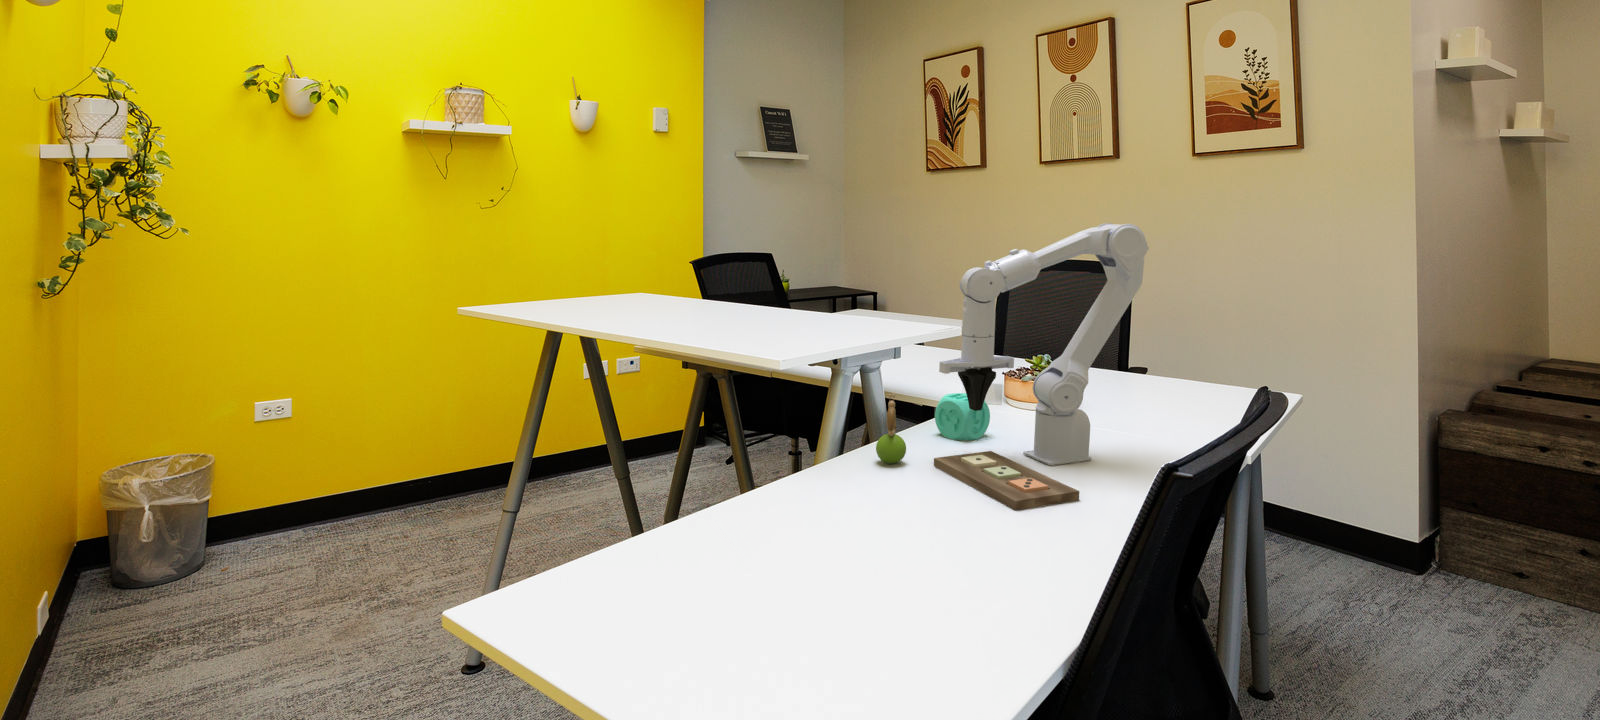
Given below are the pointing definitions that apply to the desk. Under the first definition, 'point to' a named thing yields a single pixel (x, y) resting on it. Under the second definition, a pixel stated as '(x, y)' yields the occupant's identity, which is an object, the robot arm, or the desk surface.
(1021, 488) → the terracotta button
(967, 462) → the cream button
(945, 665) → the desk surface
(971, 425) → the decorative dice
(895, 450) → the green wooden maraca
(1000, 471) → the sage button
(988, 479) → the button board
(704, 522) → the desk surface
